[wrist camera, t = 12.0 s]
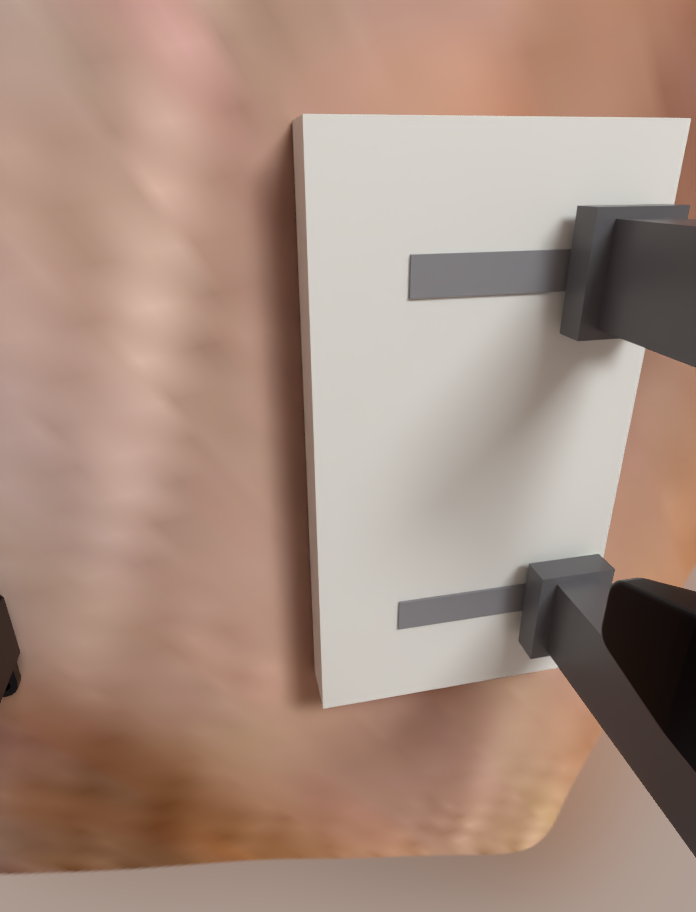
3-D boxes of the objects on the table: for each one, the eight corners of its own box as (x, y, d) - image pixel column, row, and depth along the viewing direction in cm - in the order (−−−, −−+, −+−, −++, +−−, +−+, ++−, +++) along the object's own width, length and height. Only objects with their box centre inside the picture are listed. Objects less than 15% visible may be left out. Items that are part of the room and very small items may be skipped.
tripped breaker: (518, 641, 23) (679, 880, 15) (528, 563, 22) (714, 783, 14) (583, 630, 24) (773, 856, 16) (598, 553, 22) (816, 760, 14)
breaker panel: (314, 671, 25) (323, 710, 23) (292, 120, 17) (303, 113, 15) (557, 631, 27) (583, 665, 25) (645, 123, 19) (693, 118, 17)
